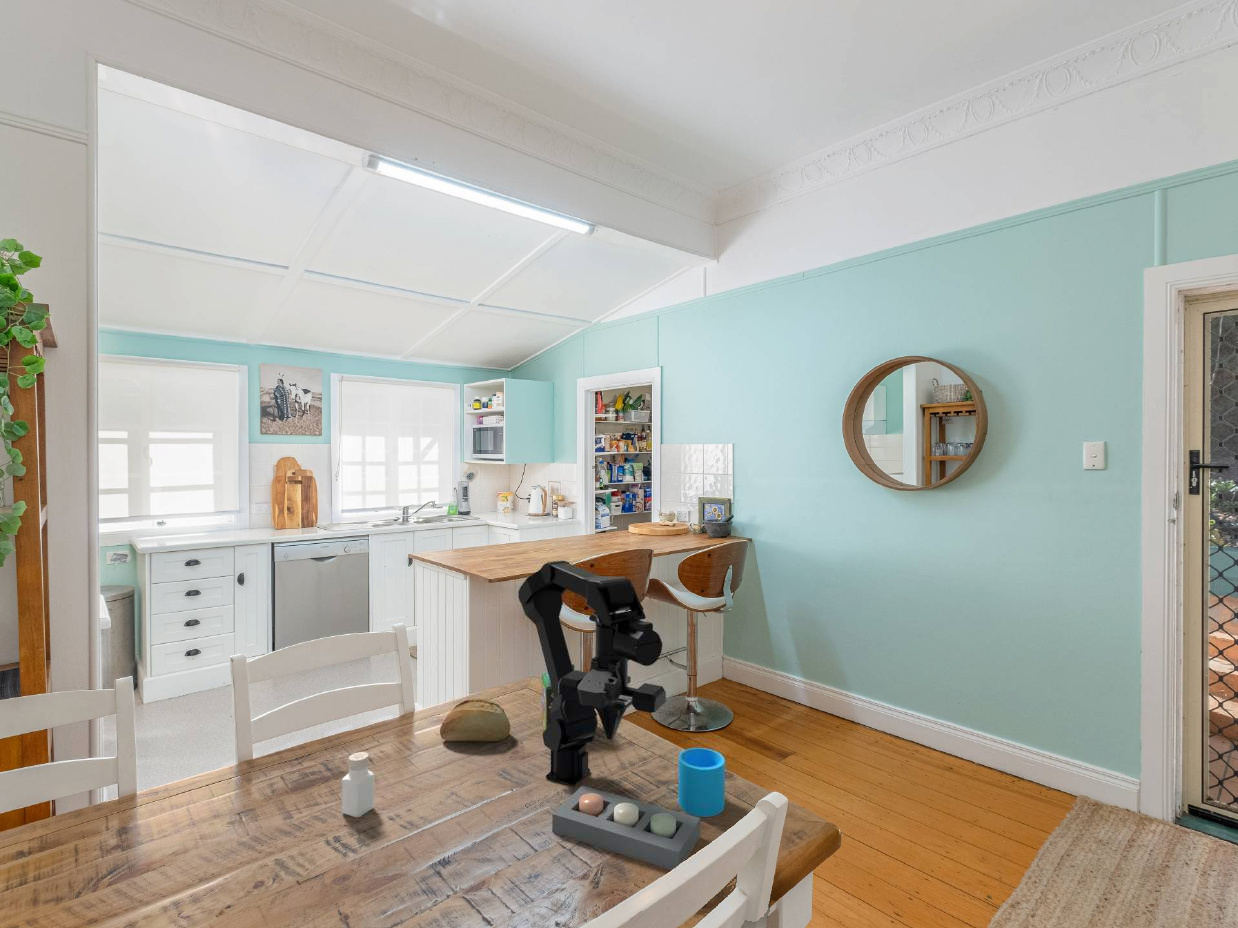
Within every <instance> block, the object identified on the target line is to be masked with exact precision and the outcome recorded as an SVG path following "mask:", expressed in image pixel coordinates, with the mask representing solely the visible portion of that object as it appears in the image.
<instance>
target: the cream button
mask: <svg viewBox="0 0 1238 928" xmlns="http://www.w3.org/2000/svg"><path fill="white" fill-rule="evenodd" d="M638 812H639V810H638V807H637V806H636V805H634V804H631V803H620V804H618V805H616V806H615V808H614V822H615V823H618V824H622V825H625V826H628V827H632V828H634V827H635V826H636V825H637V823H638Z"/></svg>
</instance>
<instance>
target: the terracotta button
mask: <svg viewBox="0 0 1238 928" xmlns="http://www.w3.org/2000/svg"><path fill="white" fill-rule="evenodd" d="M579 812H581V813H584V814H588V815H591V816H595V817H598V816H599V815H600V814H601V813H602V812H603V797H602V796H600V795H599V794H595V793H588V794H584V795H582V796H581V797H580V799H579Z"/></svg>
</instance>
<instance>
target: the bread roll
mask: <svg viewBox="0 0 1238 928" xmlns="http://www.w3.org/2000/svg"><path fill="white" fill-rule="evenodd" d="M509 720H510V719H509V718H508V715H507V714H506V712H505V710H504V708H503V707H501V705H500V704H499V703H497V702H496V701H493V700H491V699H485V698H472V699H467V700H464V701H462V702H460V703H458V704H456V705H455V707H453V709H452V710H451V711H450V712H448V714H447V715H446V717H445V719H444V720H443V721H442V723H441V725H440V728H439V735H440V737H441V739H442V740H444V741H446V742H469V741H470V742H499V741H503V740H504V739H506V738H507V737H508V736H509V735H510V732H511V723H510V721H509Z"/></svg>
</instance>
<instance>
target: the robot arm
mask: <svg viewBox="0 0 1238 928" xmlns="http://www.w3.org/2000/svg"><path fill="white" fill-rule="evenodd" d="M566 591H569V592H571V593H574V594H575V595H578V596H580V597H582V598H584V599H585V602H586V603H585V604H586V605H587V606H588V607H589V608H590V609H591V610H593V611H594V612H593V613H592V614H590V615H589V617H588V618H589V621H591V622H594V623H595V646H594V647H595V656H594V657H592V658H591V662H590V668H589V671H588V672H585V671H580V670H579V671H576V670H577V669H574V670H573V667H572V664H573V663H572V660H571V657H570V652H569V649H568V646H567V642H566V638H565V634H564V630H563V627H562V623H561V619H560V616H561V611H562V608H563V605H564V601H563V595H564V594H565V592H566ZM517 594H518V600H519V603H520V605H521V607H522V610H523V613H524V615H525V616H526V617H527V618H528V619H529V620H530V621H531V622H532V623H533V624H534V625H535V627H536V630H537V635H538V640H539V643H540V646H541V651H542V654H543V658H544V659H543V660H544V662H545V666H546V667H545V668H546V671H547V673H548V675H549V679H550V683H551V687H552V691H553V695H554V699H553V703H552V707H551V710H550V719H551V724H550V725H549V726H548V727H547V729H546V730H545V731H543V733H542V740H543V745H544V747H546V748H548V749H549V750H550V768H549V769H550V772H547V774H546V775H545V778H546V780H550V781H553V782H558V783H562V784H565V785H568V786H571V787H574V786H575V787H576V786H577V785H578V784H579V783H580V782H581V781H582V780H583V779H584V778H585V777H586V776H588V775H589V774H590V773H591V769H590V768H589V752H588V751H587V744H589V743H593V742H594V739H595V736H596V733H597V732H596V731H597V727H598V724H599V721H598V716H599V720H600V722H601V725H602V728H603V731H604V734H605V736H606V740H609V741H612V740H613V739H615V736H616V734H617V732H618V729H619V726H620V724H621V721H622V719H623V716H624V714H625V713H626V710H627V709H628V708H629V707H630V706H632V707H633V708H634V709H635V711H639V712H644V713H649V714H653V713H655V712H657V711H658V710H659V709H660V708H661V707H662V706H663V705H664V704H665V703H666V702H667V693H666V690H665V688H664V686H663V685H656V684H652V683H648V682H644V683H643V684H641V685H640V686H639V687H638V688H635V687H632V686H628V685H629V684H630V683H631V681H632V680H631V676H628V674H629V672H628V669H629V668H628V667H629V664H628V663H629V661H632V662H634V663H637V664H639V665H641V666H644V667H650V666H651V665H654V664H655V663H656V662H657V661H658V660H659V659H660V656H661V655H662V650H663V641H662V639H661V637H660V634H659V633H658V632H657V631H655V630H654V624H653V623H652V622H649V621H644V620H645V619H646V617H647V616H646V614H645V612H644V606H643V605H642V604H641V601H640V599H639V597H638V594H637V591H636V589H635V587H634V586H633V582H632V581H631V580H630V579H629V578H628V577H624V576H615V575H614V576H613V575H612V576H609V575H608V576H606V575H605V576H603V575H602V576H601V575H598V574H595V573H593V572H591V571H588V570H587V569H583V568H581V567H578V566H576V565H574V564H571V563H570V562H569V561H567V560H554V561H546V563H544V564H543V565H542V566H541V567H540V569H539V570H537V571H536V572H534V573H533V574H531V575H529V576H528V577H526V579H525V580H524V581H523V583H522V585H520V587H519V589H518V593H517ZM628 610H629V611H628Z"/></svg>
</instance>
